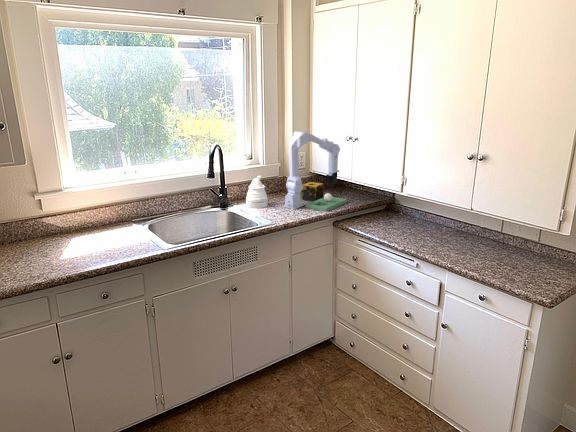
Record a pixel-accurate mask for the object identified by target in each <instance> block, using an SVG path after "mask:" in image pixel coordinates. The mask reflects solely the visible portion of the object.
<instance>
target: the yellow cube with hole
mask: <svg viewBox="0 0 576 432" xmlns="http://www.w3.org/2000/svg"><path fill="white" fill-rule="evenodd" d="M302 184H303V189H302V191H301V192H302V195H301V197H302V199H301V200H302V201H308V202H313V201H316V200H318V199H321V198H323V197H324V183H322V182H313V181H308V182H306V183H302Z"/></svg>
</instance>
